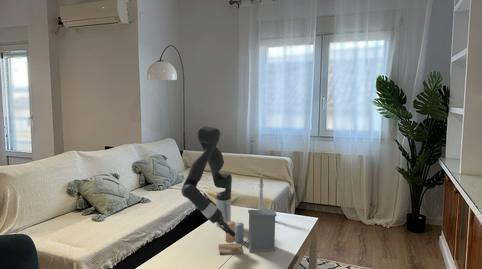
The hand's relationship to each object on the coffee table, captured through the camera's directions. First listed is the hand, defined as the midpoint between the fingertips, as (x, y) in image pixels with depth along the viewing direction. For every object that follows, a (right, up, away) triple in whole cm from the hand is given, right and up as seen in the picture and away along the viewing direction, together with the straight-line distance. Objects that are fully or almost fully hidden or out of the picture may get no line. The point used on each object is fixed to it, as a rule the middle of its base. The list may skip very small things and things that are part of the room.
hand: (233, 233), depth 182 cm
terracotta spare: (-2, -4, 0) cm, 5 cm away
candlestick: (+17, -4, +49) cm, 52 cm away
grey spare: (+3, -8, +12) cm, 14 cm away
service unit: (+15, -9, +3) cm, 18 cm away
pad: (-2, -9, +1) cm, 9 cm away
